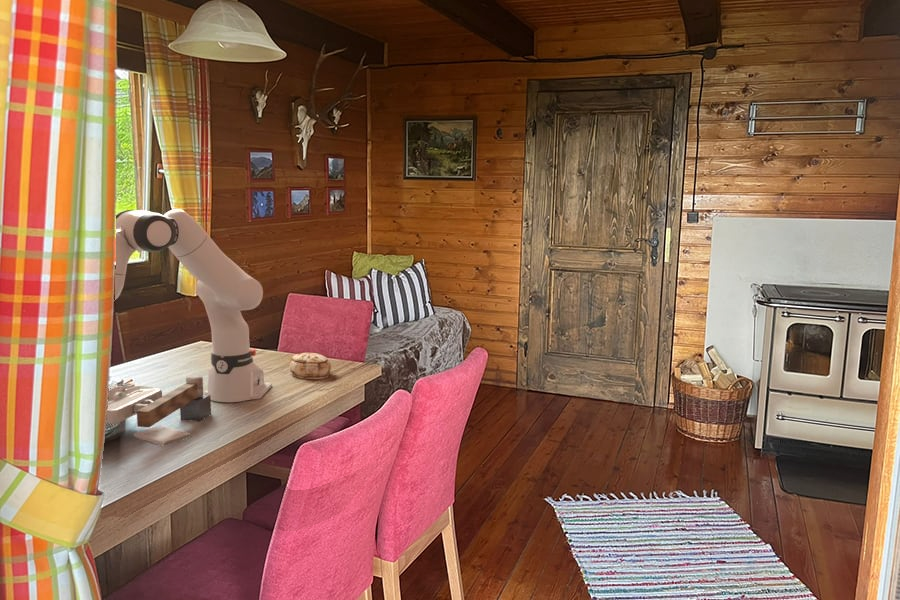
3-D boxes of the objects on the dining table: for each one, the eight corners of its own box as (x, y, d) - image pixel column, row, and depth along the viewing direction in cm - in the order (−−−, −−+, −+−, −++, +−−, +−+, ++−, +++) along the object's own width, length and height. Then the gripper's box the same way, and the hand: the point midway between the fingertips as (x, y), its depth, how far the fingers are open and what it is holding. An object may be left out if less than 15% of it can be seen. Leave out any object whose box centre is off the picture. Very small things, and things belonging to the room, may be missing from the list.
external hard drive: (164, 448, 183) (134, 438, 189) (191, 439, 189) (161, 430, 196) (164, 442, 182) (133, 432, 189) (191, 433, 189) (160, 424, 196)
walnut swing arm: (191, 392, 206) (190, 375, 206) (206, 393, 206) (205, 376, 205) (134, 426, 177) (133, 407, 177) (151, 427, 177) (150, 407, 176)
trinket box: (327, 381, 245) (327, 358, 244) (284, 380, 245) (283, 357, 244) (334, 371, 258) (334, 349, 257) (293, 370, 259) (292, 348, 257)
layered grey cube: (192, 413, 209) (191, 393, 208) (211, 414, 207) (210, 394, 206) (180, 419, 203) (179, 399, 202) (200, 421, 202) (199, 400, 201)
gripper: (80, 403, 179) (130, 407, 176) (133, 381, 198) (178, 385, 196) (82, 427, 180) (131, 432, 177) (134, 403, 199) (179, 407, 197)
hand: (156, 407), depth 186 cm, fingers closed
